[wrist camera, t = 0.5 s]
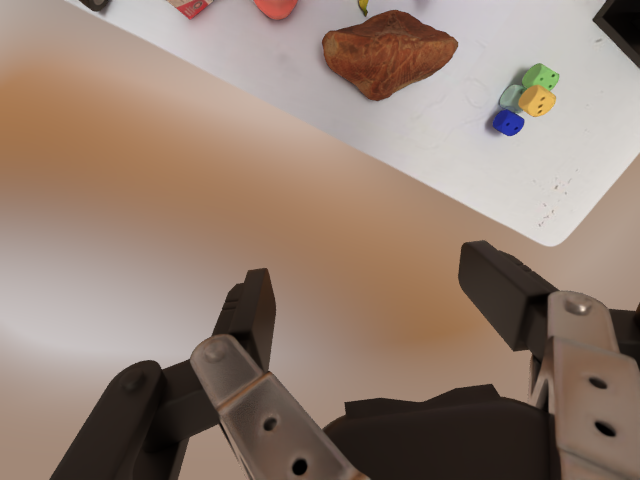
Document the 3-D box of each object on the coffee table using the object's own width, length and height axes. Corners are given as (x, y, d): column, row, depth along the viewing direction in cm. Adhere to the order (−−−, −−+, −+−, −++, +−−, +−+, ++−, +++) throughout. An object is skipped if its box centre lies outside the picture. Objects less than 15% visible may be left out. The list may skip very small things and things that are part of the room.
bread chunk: (304, 66, 31) (372, 16, 22) (324, -5, 31) (398, -79, 23) (381, 125, 38) (454, 103, 30) (397, 66, 39) (472, 29, 30)
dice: (497, 136, 39) (533, 141, 33) (482, 128, 38) (515, 132, 32) (536, 73, 36) (582, 66, 30) (520, 63, 35) (564, 55, 30)
